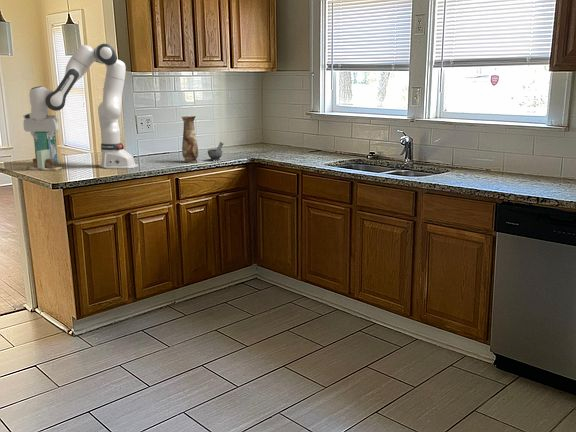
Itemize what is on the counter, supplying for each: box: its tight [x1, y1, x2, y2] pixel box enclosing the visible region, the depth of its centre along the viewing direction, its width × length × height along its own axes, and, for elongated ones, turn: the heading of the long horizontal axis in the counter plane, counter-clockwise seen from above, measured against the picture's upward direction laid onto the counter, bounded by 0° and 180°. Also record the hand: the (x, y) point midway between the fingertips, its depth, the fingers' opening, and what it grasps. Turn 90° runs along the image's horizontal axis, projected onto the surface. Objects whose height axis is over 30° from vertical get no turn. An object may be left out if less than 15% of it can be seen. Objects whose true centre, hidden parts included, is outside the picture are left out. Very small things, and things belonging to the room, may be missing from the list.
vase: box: [180, 114, 199, 163], centre depth 368 cm, size 10×11×30 cm
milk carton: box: [33, 132, 59, 164], centre depth 352 cm, size 9×9×25 cm
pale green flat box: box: [36, 149, 50, 169], centre depth 333 cm, size 9×3×10 cm, turn 172°
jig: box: [26, 157, 63, 171], centre depth 334 cm, size 18×7×6 cm, turn 82°
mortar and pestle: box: [207, 141, 224, 161], centre depth 379 cm, size 11×9×12 cm
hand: (42, 139), depth 331 cm, fingers open, 8 cm apart
